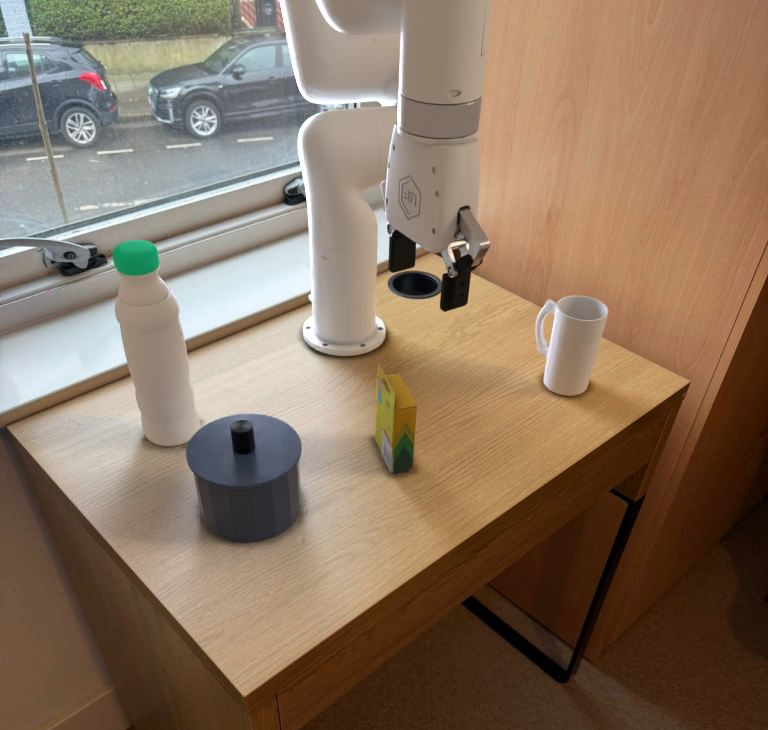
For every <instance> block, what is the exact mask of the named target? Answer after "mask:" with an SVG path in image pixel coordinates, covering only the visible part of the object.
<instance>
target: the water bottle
mask: <svg viewBox="0 0 768 730" xmlns="http://www.w3.org/2000/svg"><path fill="white" fill-rule="evenodd" d="M112 261H113V265H114V268H115V270H116V272H117V274H118V275H119V276H120V277H121V282H120V285H119V288H118V294H117V297H116V300H115V304H114V315H115V319H116V321H117V322H118V324H119V330H120V337H121V341H122V347H123V351H124V355H125V360H126V363H127V366H128V371H129V375H130V377H131V381H132V384H133V386H134V390H135V392H134V393H135V400H136V405H137V407H138V409H139V412H140V421H141V425H142V429H143V433H144V436H145V437H146V439H147V440H148V441H150V442H151V443H153V444H155V445H157V446H161V447H175V446H180V445H183V444H186V443H187V442H188V443H189V441H190V439H191V438H192V436H193V435H194V434H195V433H196V432H197V431H198V430H199V429H201V424H200V418H199V417H200V416H199V413H198V409H197V406H196V397H195V396H196V395H195V390H194V386H193V383H192V381H191V372H190V363H189V357H188V351H187V350H188V349H187V344H186V341H185V340H186V339H185V334H184V331H183V327H182V323H181V319H180V317H179V316H180V305H179V302H178V300H177V298H176V296H175V295H174V294H173V292H172V291H171V290H170V288H169V287H168V285H167V284H166V282H165V280H164V279H162V278H161V277H160V276H159V273H158V272H159V271H160V268H161V265H160V263H161V262H160V254H159V250H158V248H157V247H156V245H155V244H154V243H153V242H150V241H148V240H145V239H130V240H125V241H123V242H120V243H119V244H117V245H116V246H115V247H113V250H112Z"/></svg>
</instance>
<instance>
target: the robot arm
mask: <svg viewBox="0 0 768 730" xmlns="http://www.w3.org/2000/svg"><path fill="white" fill-rule="evenodd" d="M279 3H280V8H281V14H282V19H283V24H284V30H285V34H286V40H287V45H288V50H289V54H290V60H291V64H292V69H293V73H294V77H295V81H296V84H297V87H298V89H299V93H300V94H301V95H302V97H303V98H304V99H305V101H308V102H310V103H312V104H316V105H343V104H345V105H346V104H356V103H368V102H378V103H379V104H380V105H379V106H370V107H365V106H362V107H351V108H340V109H332V110H331V109H330V110H325V111H322V112H318V113H316V114H314V115H312V116H310V117H309V118H307V119H306V120H305V121H304V123H303V124H301V127H300V129H299V132H298V136H297V151H298V158H299V163H300V167H301V173H302V178H303V184H304V189H305V196H306V204H307V205H306V206H307V219H308V238H309V242H308V243H309V261H310V265H309V266H310V286H311V292H310V294H309V295H308V300H309V302H311V310H312V311H311V312H312V315H311V316H310V317H309V318H307V319H306V321H305V322H304V324H303V326H302V335H303V339H304V342H305V343H306V344H307V345H308V346H309V347H311V348H312V349H314V350H316V352H317V351H318V352H320V353H321V354H326V355H329V356H334V357H338V356H339V357H353V356H354V357H355V356H360V355H363V354H367V353H370V352H372V351H374V350H375V349H377V348H379V347H380V346H381V345H382V344H383V343H384V341H385V339H386V335H387V334H386V331H387V328H386V325H385V323H384V321H383V320H382V319H381V318H380V317H378V316H377V287H378V286H377V284H378V282H377V281H378V280H377V279H378V244H379V243H378V239H379V238H378V235H379V233H378V232H379V231H378V230H379V229H378V227H379V226H378V220H377V217H376V215H375V212H374V210H373V209H372V208H371V206H369V204H368V202H367V201H365V200H364V198H363V197H362V196H361V193H362V192H363V191H368V190H373V189H377V188H380V190H381V194H382V199H383V203H384V204H383V212H384V217H385V220H386V221H387V224H386V232H387V234H388V235H389V238H388V265H387V266H388V268H387V269H388V271H389V272H390V273H391V274H395V273H398V272H402V271H405V270H410V269H413V268H414V267H415V266H416V256H417V245H419V247H421V248H423V249H424V250H426V251H427V252H429V253H432V254H440V255H441V257H442V261H443V264H444V267H445V271H446V272H445V273H442V277H441V284H440V285H441V287H440V296H439V297H440V298H439V309H440V310H441V311H442V312H444V313H446V312H449V311H452V310H455V309H459V308H462V307H465V306H467V305H468V302H469V296H470V295H469V294H470V287H471V286H470V285H471V279H472V278H471V277H472V272H475V271H477V268H478V267H479V266H481V265H482V264H483V262H484V258H485V256H486V254H487V253H488V251H489V250H490V247H491V241H490V239H489V238H488V236H487V235H486V233H485V231H484V230H483V228H482V227H481V225H480V224H479V222H478V213H479V200H480V179H481V177H480V174H481V173H480V172H481V171H480V168H481V167H480V165H481V164H480V142H479V139H478V135H479V131H480V130H479V129H480V128H479V127H480V119H481V109H482V99H483V92H484V91H483V90H484V83H485V82H484V80H485V71H486V63H487V61H486V60H487V51H488V43H489V33H490V25H491V14H492V4H493V0H279ZM452 240H453V241H452ZM454 250H459V252H460V256H461V257H460V258H459V259H458V260H456V258H455V255H454V252H453V251H454Z"/></svg>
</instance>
